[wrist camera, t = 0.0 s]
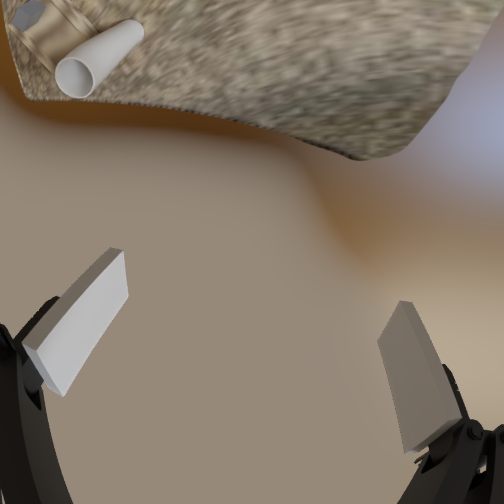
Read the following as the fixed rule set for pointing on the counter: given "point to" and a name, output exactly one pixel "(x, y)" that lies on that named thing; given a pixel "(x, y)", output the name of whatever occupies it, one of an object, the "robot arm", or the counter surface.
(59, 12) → the tray
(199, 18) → the counter surface
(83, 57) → the drinking glass
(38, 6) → the cube
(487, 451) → the robot arm
